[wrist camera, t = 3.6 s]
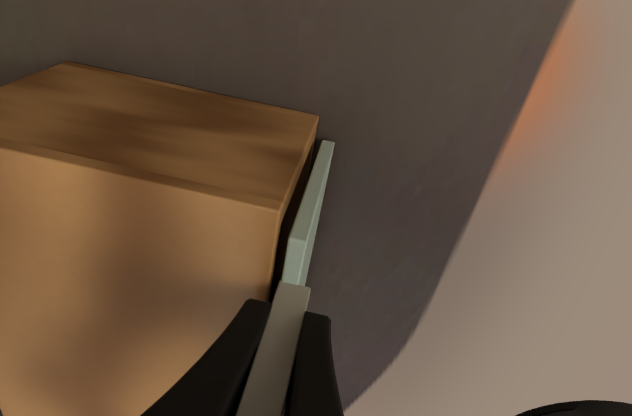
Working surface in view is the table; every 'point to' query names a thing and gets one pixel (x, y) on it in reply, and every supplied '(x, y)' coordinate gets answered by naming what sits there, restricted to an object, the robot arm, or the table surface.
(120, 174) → the cabinet
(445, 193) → the table surface
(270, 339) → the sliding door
